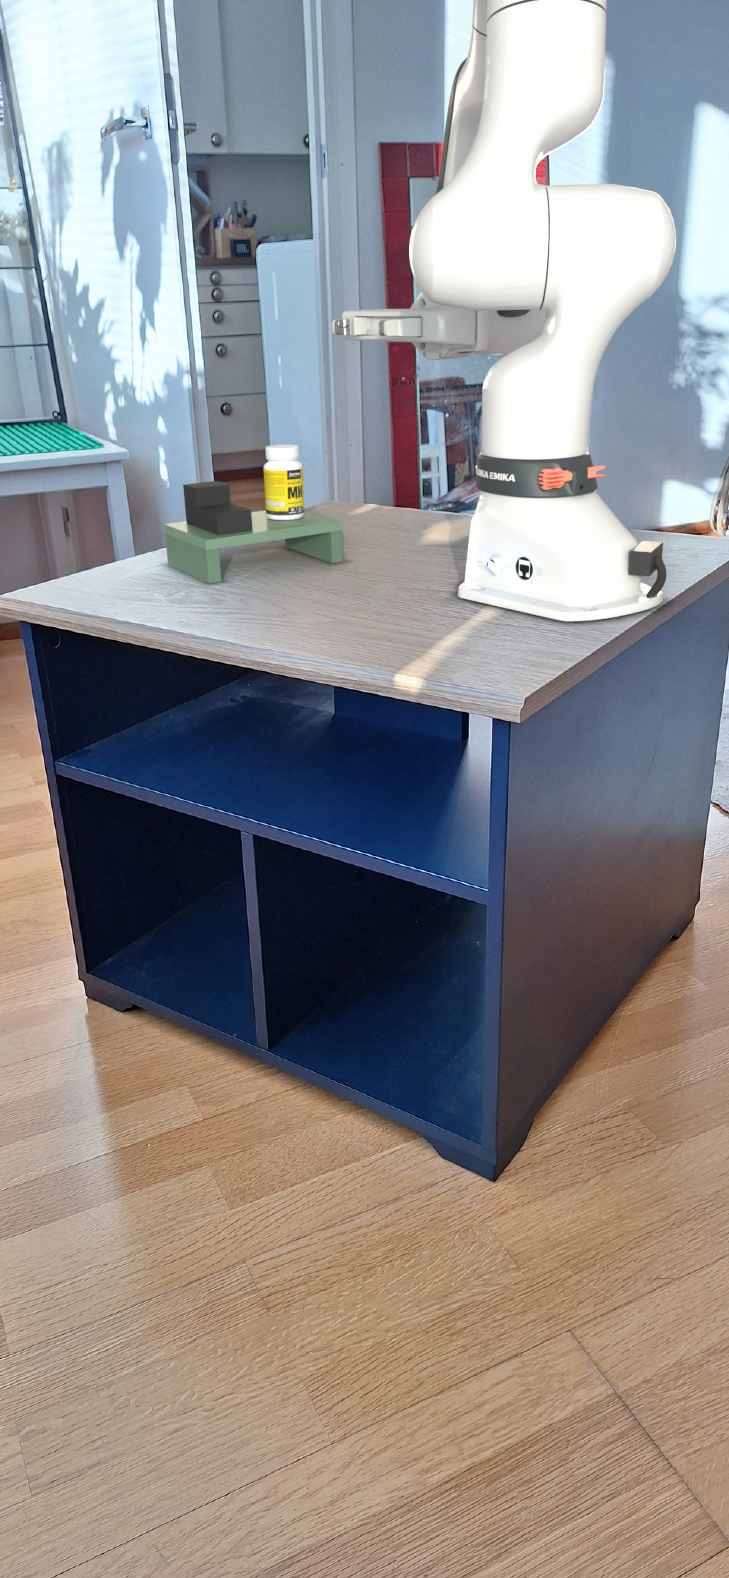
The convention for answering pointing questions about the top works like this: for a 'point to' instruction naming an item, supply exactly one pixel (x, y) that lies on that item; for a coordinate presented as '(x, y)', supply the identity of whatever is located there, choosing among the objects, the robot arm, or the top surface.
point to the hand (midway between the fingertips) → (358, 328)
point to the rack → (251, 542)
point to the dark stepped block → (214, 509)
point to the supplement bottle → (283, 483)
